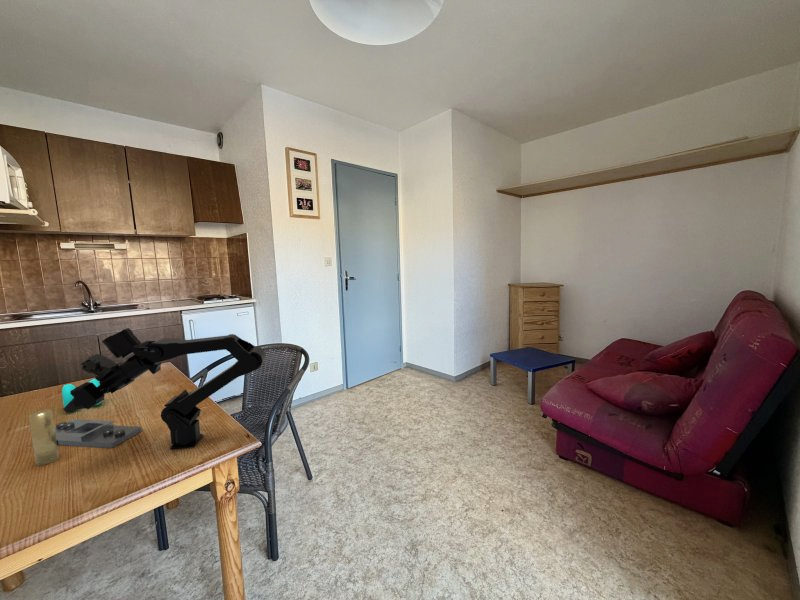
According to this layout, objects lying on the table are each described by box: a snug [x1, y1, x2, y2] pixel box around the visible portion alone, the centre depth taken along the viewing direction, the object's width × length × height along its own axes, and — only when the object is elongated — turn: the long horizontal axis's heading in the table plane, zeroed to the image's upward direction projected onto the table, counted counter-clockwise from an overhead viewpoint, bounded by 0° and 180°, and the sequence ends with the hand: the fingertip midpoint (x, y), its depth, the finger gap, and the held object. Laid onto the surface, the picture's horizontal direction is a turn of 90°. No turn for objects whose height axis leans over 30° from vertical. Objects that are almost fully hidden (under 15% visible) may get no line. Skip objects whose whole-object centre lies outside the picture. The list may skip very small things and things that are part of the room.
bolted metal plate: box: [55, 418, 142, 449], centre depth 99 cm, size 24×10×4 cm, turn 84°
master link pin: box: [28, 408, 60, 467], centre depth 87 cm, size 4×4×14 cm
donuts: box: [61, 378, 103, 409], centre depth 120 cm, size 10×10×10 cm
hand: (78, 403), depth 88 cm, fingers open, 9 cm apart
